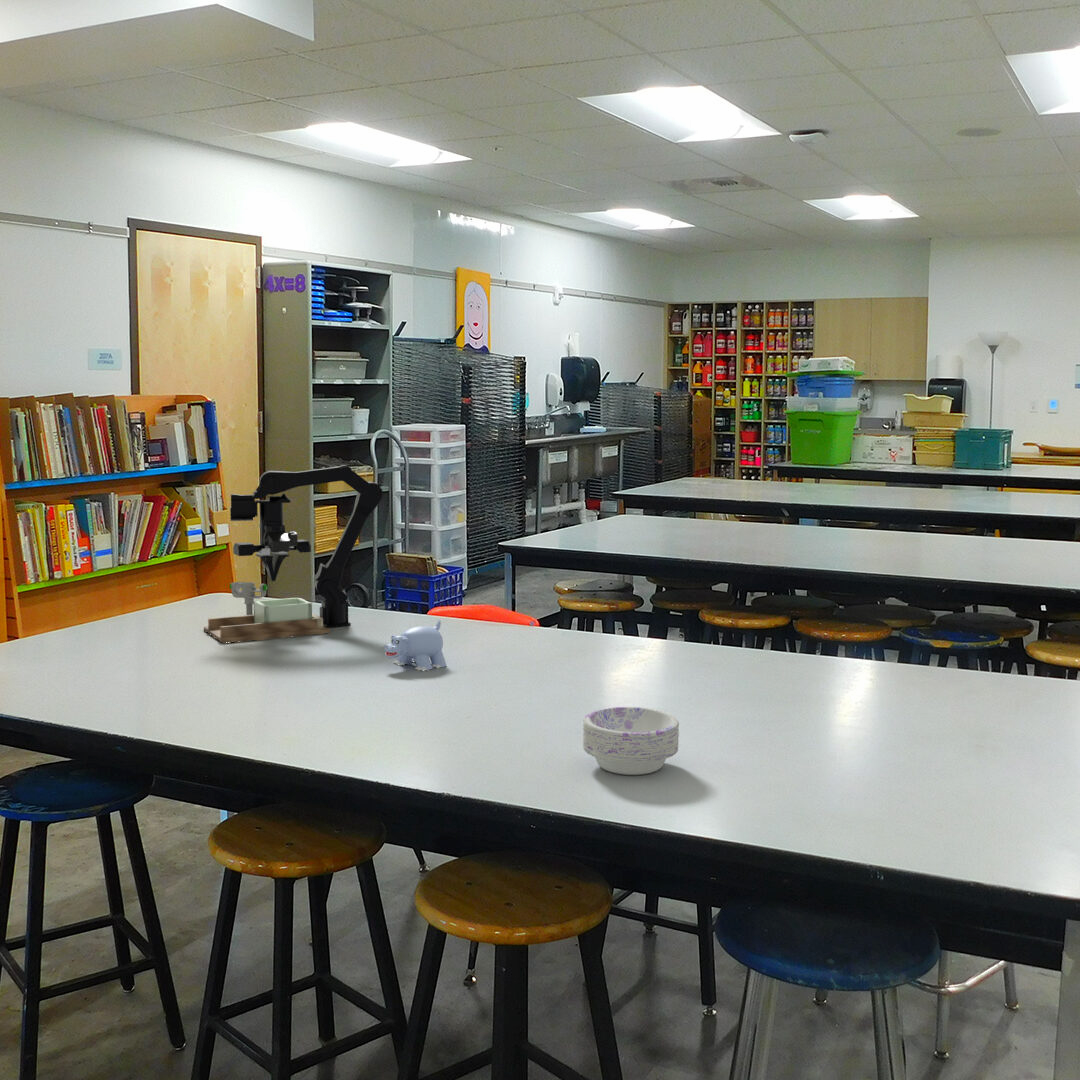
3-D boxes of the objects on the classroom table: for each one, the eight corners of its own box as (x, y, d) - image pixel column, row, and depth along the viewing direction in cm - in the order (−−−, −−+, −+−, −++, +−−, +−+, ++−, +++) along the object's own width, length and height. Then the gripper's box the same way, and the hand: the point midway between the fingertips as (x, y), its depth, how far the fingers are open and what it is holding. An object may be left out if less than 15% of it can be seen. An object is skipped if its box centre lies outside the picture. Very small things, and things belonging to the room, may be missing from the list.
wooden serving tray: (307, 621, 303) (307, 608, 303) (330, 633, 288) (330, 619, 288) (203, 630, 290) (203, 617, 290) (222, 643, 275) (221, 629, 274)
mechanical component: (265, 622, 302) (264, 584, 301) (229, 620, 304) (228, 583, 303) (269, 620, 305) (269, 583, 304) (234, 618, 307) (233, 581, 306)
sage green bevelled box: (299, 620, 298) (299, 597, 298) (312, 626, 290) (311, 603, 289) (254, 624, 292) (253, 601, 292) (265, 631, 284) (264, 607, 283)
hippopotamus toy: (372, 667, 251) (372, 625, 250) (425, 657, 262) (425, 616, 261) (403, 676, 244) (403, 632, 243) (456, 665, 254) (456, 623, 253)
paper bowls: (639, 788, 173) (640, 737, 172) (563, 767, 183) (563, 718, 182) (696, 765, 184) (698, 717, 183) (621, 746, 194) (622, 700, 193)
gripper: (244, 525, 281) (245, 588, 283) (317, 521, 290) (318, 582, 292) (232, 520, 290) (233, 582, 292) (303, 517, 300) (304, 577, 301)
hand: (273, 581), depth 294 cm, fingers closed
